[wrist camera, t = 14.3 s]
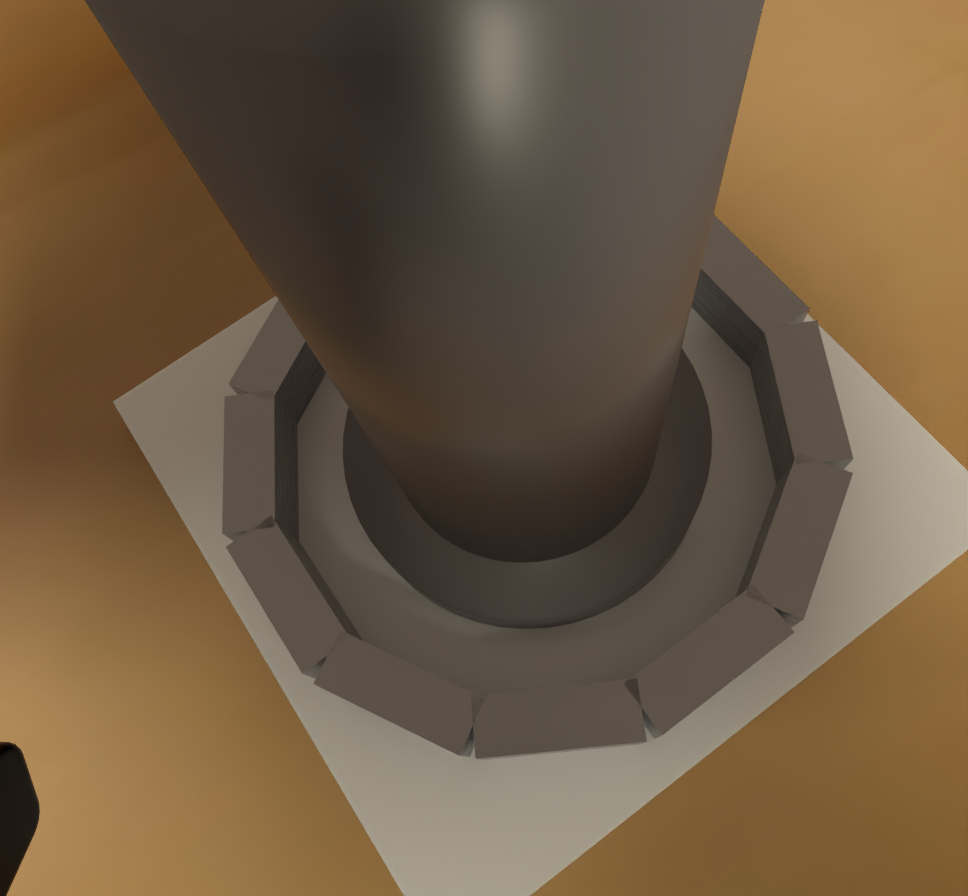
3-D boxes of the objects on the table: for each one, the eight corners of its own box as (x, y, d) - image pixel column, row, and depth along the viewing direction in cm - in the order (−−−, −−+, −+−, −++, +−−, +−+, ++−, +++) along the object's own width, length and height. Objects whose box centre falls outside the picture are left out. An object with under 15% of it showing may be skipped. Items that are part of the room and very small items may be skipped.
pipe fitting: (779, 484, 17) (1311, -273, 5) (487, 705, 16) (175, 504, 4) (559, 246, 19) (521, -669, 7) (295, 427, 18) (-277, -253, 6)
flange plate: (987, 528, 17) (1053, 490, 15) (451, 951, 15) (429, 984, 13) (584, 124, 21) (585, 45, 19) (134, 418, 20) (75, 372, 17)
